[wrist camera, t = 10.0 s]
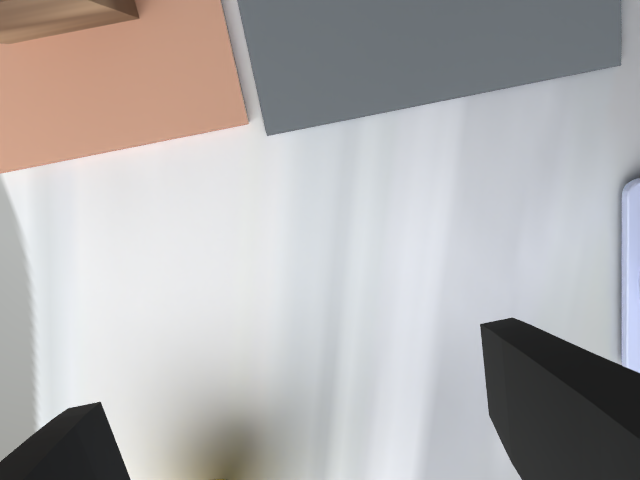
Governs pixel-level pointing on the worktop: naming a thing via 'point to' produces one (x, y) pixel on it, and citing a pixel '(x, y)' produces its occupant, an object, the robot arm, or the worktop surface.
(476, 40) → the mat
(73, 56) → the tile
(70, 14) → the walnut block
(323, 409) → the worktop surface
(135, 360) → the worktop surface
